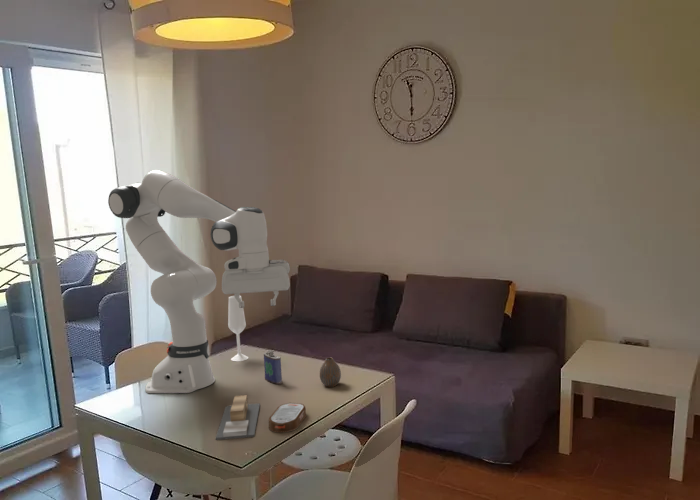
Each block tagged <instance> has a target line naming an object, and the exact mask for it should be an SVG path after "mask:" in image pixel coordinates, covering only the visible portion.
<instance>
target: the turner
mask: <svg viewBox="0 0 700 500" xmlns="http://www.w3.org/2000/svg"><path fill="white" fill-rule="evenodd" d="M232 401H233V402H232V405H231V406H232V407H231V410H230V416H231V421H230V422H226V425H225V428H224V431H223V437H230V436H241V435H247V430H248V426H249V421H248V420H245V419H246V414H247V410H248V404H249V403H248V395H247V394H243V395H242V394H241V395H234V397H233V400H232Z"/></svg>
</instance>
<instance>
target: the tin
mask: <svg viewBox="0 0 700 500" xmlns="http://www.w3.org/2000/svg"><path fill="white" fill-rule="evenodd" d="M306 417H307V411H306V405H304V404H303V403H298V402H297V403H296V402H293V403H291V402H287V403H283V404H280V405H279V406H277V408H276V409H275V410H274V411H273V413H272V414H271V415H270V416H269V418H268V429H269V430H270V431H271V432H273V433H279V434H280V433H289V432H292V431H295V430H296V429H298V428H299V427H300V425H301V424H302V423H303V421H304V420H305V419H306Z"/></svg>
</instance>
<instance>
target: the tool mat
mask: <svg viewBox="0 0 700 500" xmlns="http://www.w3.org/2000/svg"><path fill="white" fill-rule="evenodd" d="M231 407H232V405H225V407H224V411H223V414H222V417H221V420H220V423H219V427H218V430H217V432H216V435H215V440H217V441H221V440H233V439H242V438H243V439H244V438H254V437H255V435H256V430H257V423H258V418H259V412H260V407H261V403H248V410H247V414H246V419H245V420H248V421H249V426H248V430H247V435H241V436H230V437H223V431H224V428H225V425H226V422H230V421H231V416H230V410H231Z"/></svg>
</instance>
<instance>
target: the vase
mask: <svg viewBox="0 0 700 500" xmlns="http://www.w3.org/2000/svg"><path fill="white" fill-rule="evenodd" d="M341 379H342V372H341V368H340V366H339V364H338V363H337V362H336V361H335V359H334V358H333V357H326V358H325V360H324V362H323V363H322V365H321V367H320V368H319V380H320V381H321V383H322V385H324V386H325V387H328V388H331V387H335V386H337V385H339V383H340V381H341Z"/></svg>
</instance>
